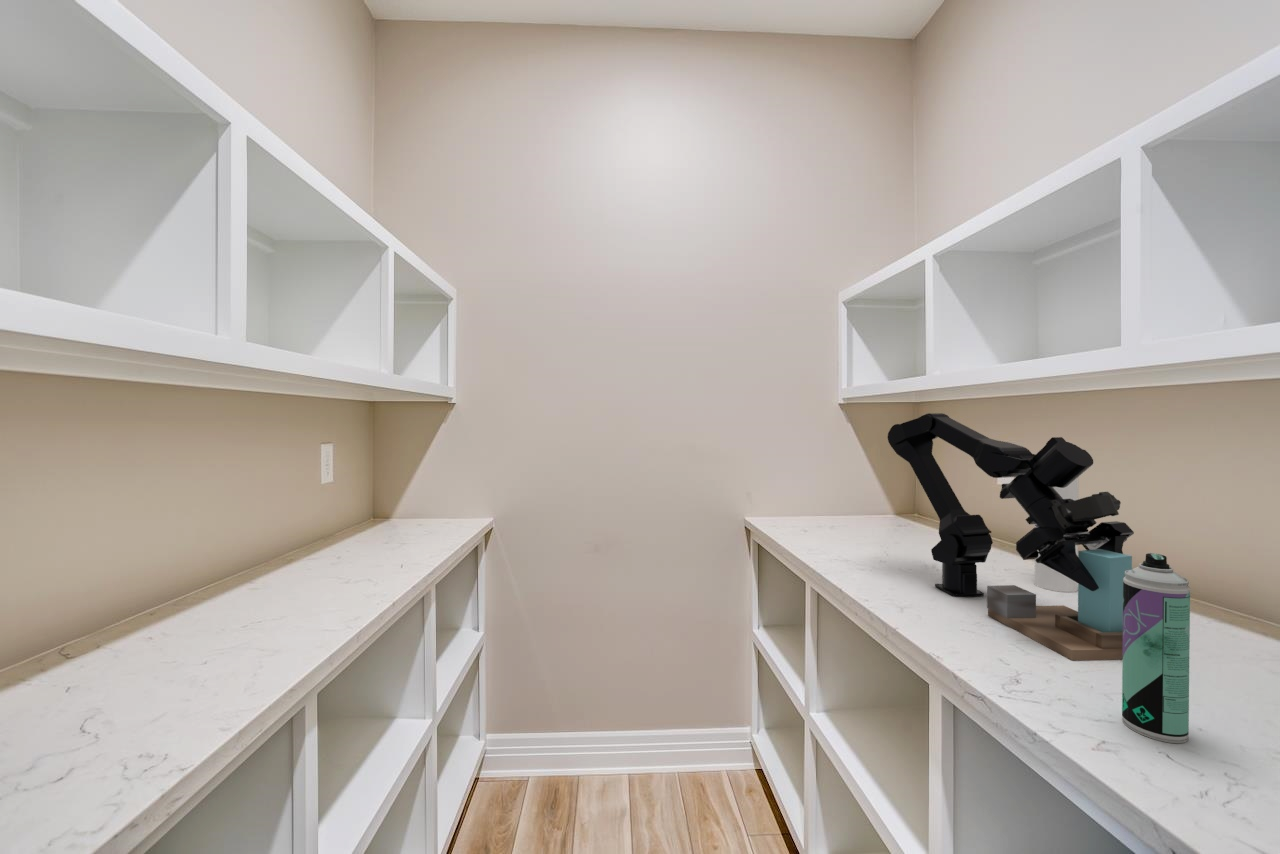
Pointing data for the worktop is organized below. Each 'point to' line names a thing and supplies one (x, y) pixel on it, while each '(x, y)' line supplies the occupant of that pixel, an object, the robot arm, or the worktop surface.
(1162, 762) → the worktop surface
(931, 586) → the worktop surface
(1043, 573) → the cylindrical container
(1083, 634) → the walnut base board
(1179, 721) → the spray can
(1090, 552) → the teal column
